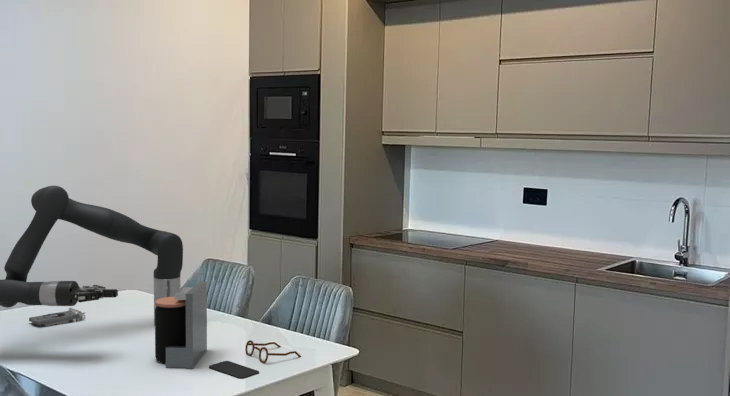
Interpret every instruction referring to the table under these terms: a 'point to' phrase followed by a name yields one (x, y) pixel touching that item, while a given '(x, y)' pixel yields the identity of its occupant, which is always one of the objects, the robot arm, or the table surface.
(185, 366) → the bracket
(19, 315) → the table surface
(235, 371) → the phone
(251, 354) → the glasses
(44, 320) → the graphics card
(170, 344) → the coffee jar
